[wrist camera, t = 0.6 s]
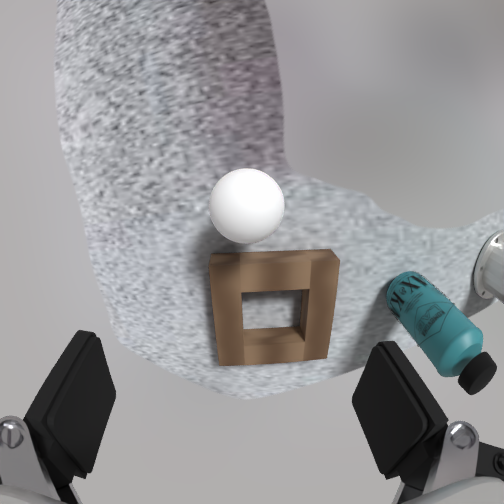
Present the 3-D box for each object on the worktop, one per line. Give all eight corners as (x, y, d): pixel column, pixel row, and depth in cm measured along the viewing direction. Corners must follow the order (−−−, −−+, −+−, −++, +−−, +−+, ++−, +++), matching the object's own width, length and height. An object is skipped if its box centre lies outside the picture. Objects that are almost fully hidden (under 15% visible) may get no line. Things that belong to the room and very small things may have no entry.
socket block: (330, 249, 33) (339, 260, 30) (320, 342, 38) (326, 358, 35) (211, 253, 33) (208, 265, 30) (220, 348, 38) (219, 365, 35)
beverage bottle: (424, 271, 35) (516, 353, 17) (404, 310, 38) (479, 404, 19) (392, 259, 34) (491, 350, 16) (371, 302, 37) (446, 409, 18)
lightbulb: (267, 222, 32) (281, 260, 22) (212, 214, 31) (200, 249, 21) (277, 168, 30) (297, 180, 20) (220, 159, 29) (211, 165, 19)
